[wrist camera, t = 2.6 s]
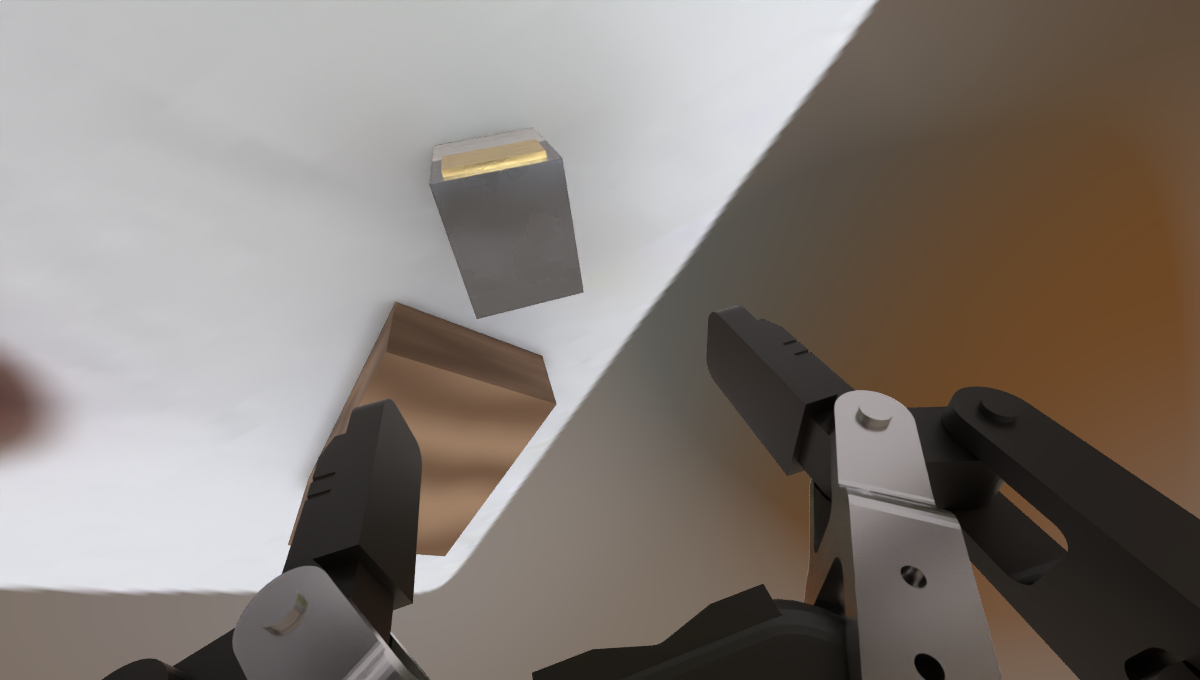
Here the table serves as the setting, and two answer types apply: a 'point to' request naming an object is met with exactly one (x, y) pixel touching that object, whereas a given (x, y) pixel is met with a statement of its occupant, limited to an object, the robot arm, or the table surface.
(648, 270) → the table surface
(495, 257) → the housing
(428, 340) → the walnut stand
